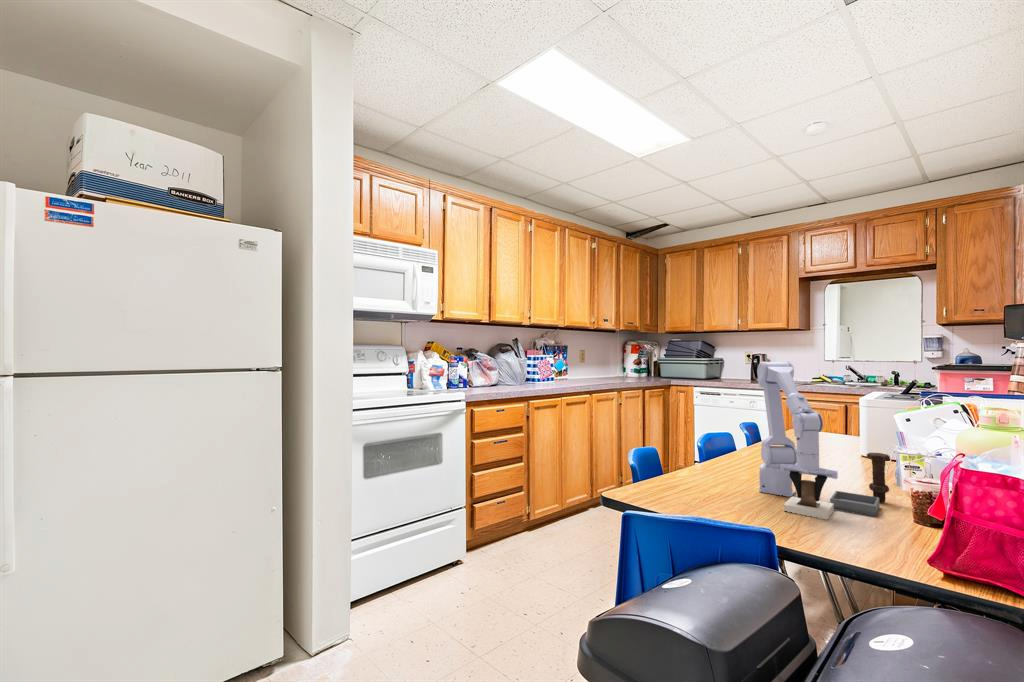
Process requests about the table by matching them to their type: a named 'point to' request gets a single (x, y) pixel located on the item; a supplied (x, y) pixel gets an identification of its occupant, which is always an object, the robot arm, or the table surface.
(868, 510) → the tray
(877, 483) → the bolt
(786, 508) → the socket block
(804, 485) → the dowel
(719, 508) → the table surface
